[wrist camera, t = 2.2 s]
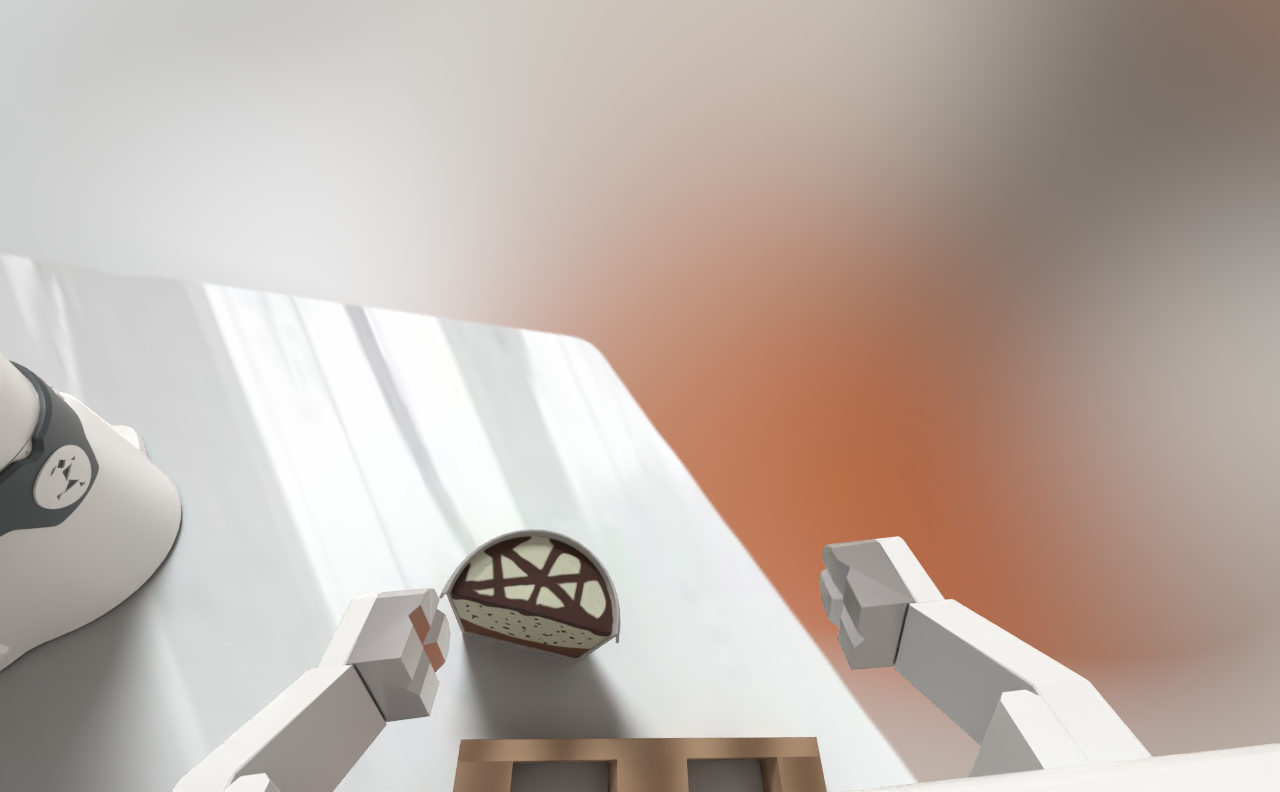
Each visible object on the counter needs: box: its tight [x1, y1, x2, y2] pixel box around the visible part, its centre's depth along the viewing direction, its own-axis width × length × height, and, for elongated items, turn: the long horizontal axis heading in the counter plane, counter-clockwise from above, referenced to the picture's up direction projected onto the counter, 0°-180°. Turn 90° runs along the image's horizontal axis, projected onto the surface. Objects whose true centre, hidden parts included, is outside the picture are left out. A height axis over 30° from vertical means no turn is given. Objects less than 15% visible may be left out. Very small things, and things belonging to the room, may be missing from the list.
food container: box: [439, 529, 620, 661], centre depth 40 cm, size 12×6×10 cm, turn 80°
